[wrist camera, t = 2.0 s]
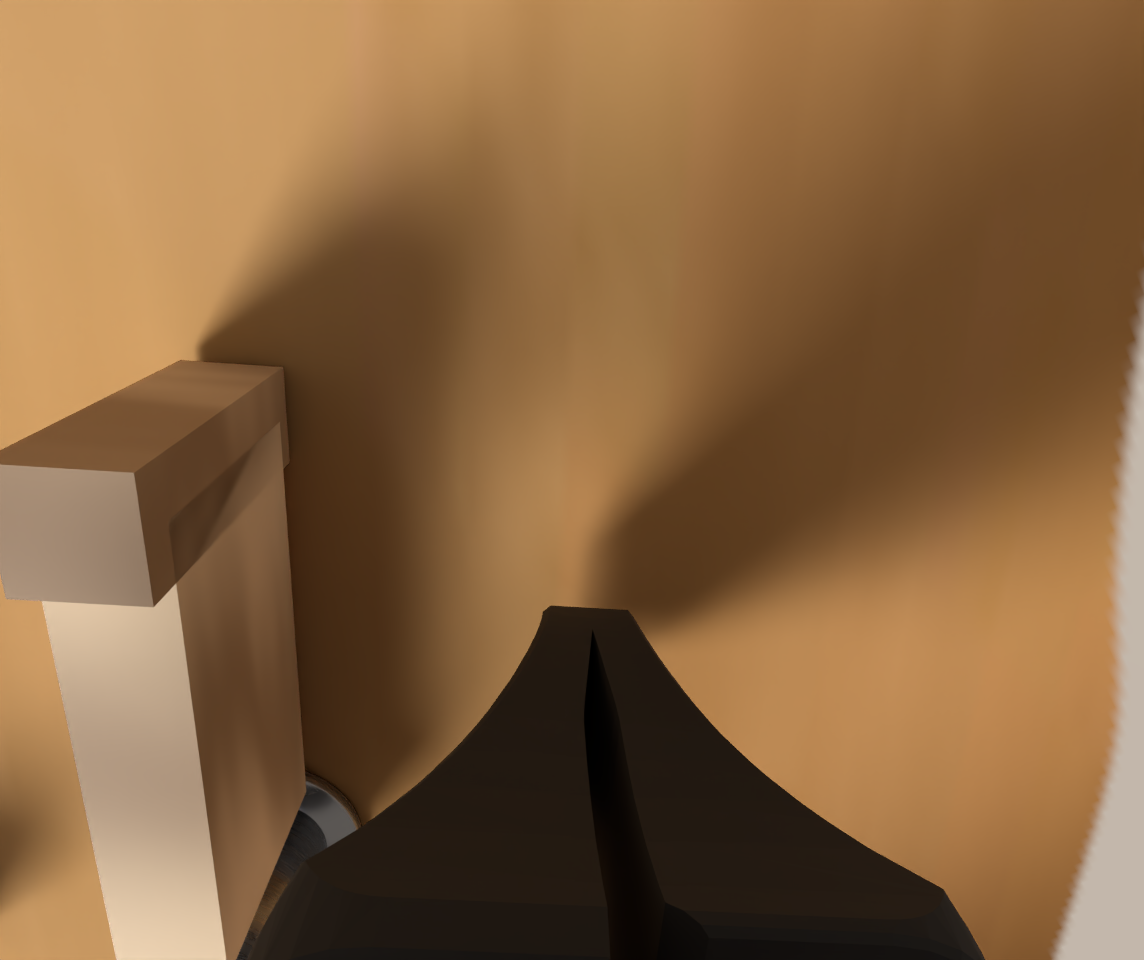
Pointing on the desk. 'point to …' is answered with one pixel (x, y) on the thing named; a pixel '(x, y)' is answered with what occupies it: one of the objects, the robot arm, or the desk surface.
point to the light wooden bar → (169, 641)
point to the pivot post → (304, 844)
